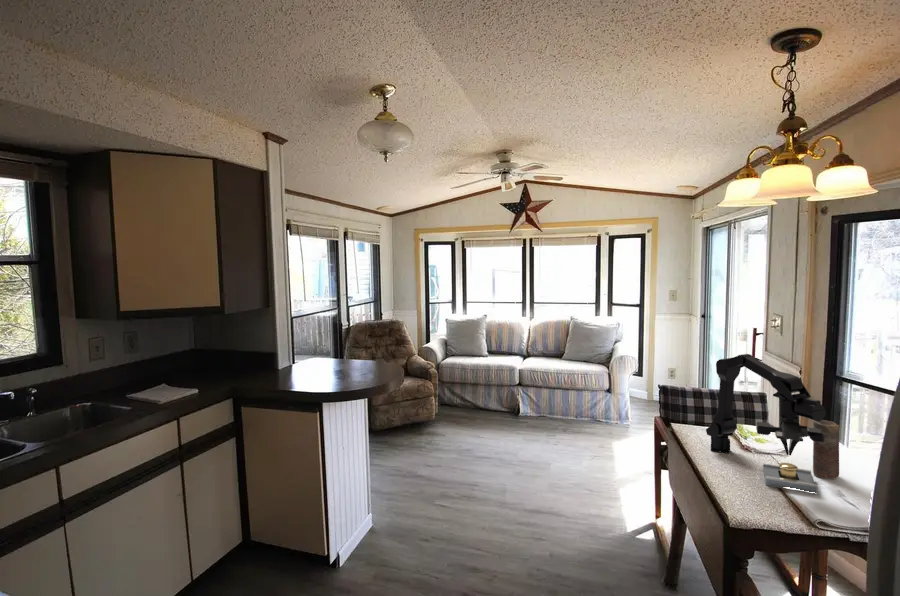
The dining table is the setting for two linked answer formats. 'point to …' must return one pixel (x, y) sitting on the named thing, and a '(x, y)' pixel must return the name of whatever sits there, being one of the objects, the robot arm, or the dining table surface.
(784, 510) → the dining table surface
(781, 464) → the gold flared round piece
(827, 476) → the candle
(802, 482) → the jig
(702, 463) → the dining table surface
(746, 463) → the dining table surface
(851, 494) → the dining table surface
